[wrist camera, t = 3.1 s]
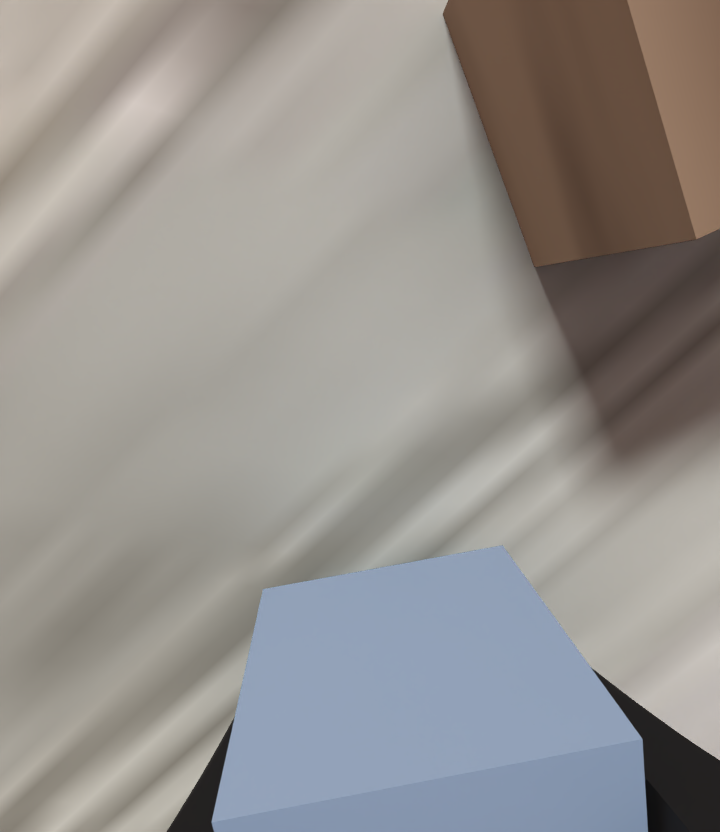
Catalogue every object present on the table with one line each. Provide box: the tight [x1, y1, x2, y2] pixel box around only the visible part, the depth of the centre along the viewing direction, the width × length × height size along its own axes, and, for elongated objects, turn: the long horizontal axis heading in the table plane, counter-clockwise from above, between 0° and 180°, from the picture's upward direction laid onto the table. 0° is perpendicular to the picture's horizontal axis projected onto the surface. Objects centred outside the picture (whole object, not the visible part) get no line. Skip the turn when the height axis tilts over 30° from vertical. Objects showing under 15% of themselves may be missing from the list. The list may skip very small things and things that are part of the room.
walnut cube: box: [443, 0, 720, 267], centre depth 8 cm, size 5×5×5 cm
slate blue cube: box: [211, 545, 648, 832], centre depth 9 cm, size 5×5×5 cm
